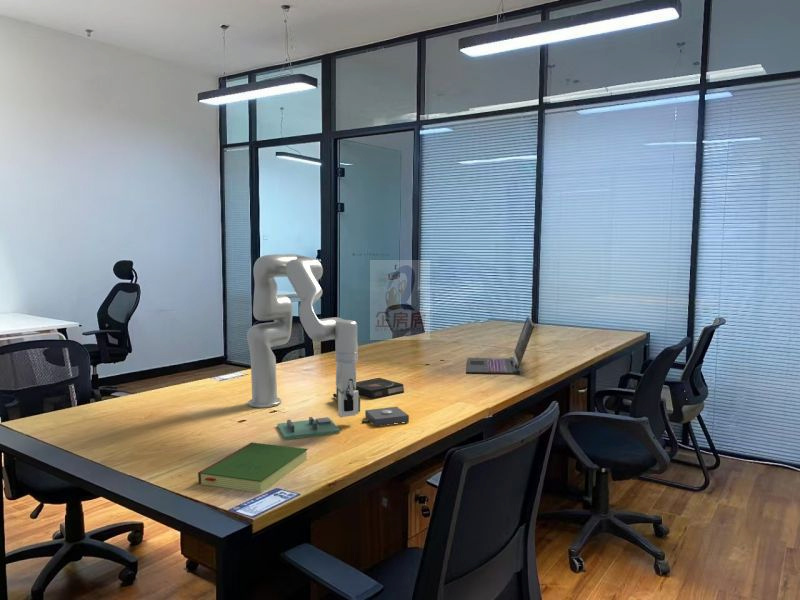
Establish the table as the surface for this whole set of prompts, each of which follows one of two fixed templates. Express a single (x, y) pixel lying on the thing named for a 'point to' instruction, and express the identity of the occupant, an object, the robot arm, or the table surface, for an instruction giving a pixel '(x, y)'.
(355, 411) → the plug
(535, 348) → the table surface
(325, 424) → the board
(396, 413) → the gray dome slab
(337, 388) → the handheld radio
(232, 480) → the hardcover book
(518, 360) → the laptop
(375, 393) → the portable cd player
